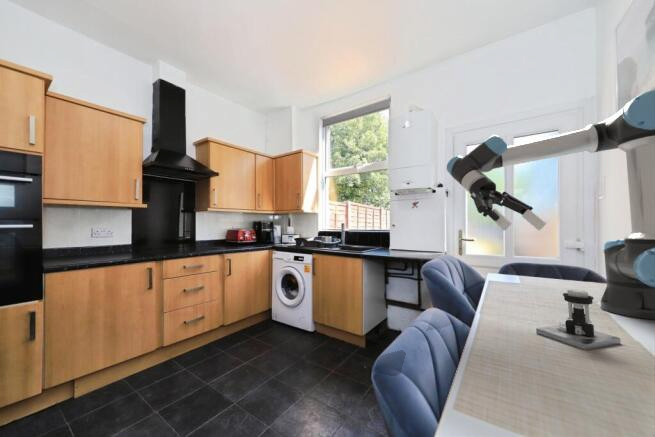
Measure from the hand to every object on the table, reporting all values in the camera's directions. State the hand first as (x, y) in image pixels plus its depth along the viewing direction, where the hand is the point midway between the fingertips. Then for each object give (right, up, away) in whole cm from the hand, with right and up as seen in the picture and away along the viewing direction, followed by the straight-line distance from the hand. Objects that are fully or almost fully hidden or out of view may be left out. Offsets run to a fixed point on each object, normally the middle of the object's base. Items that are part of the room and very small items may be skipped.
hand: (525, 226), depth 74 cm
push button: (+3, -26, -12) cm, 28 cm away
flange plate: (+3, -27, -12) cm, 29 cm away
